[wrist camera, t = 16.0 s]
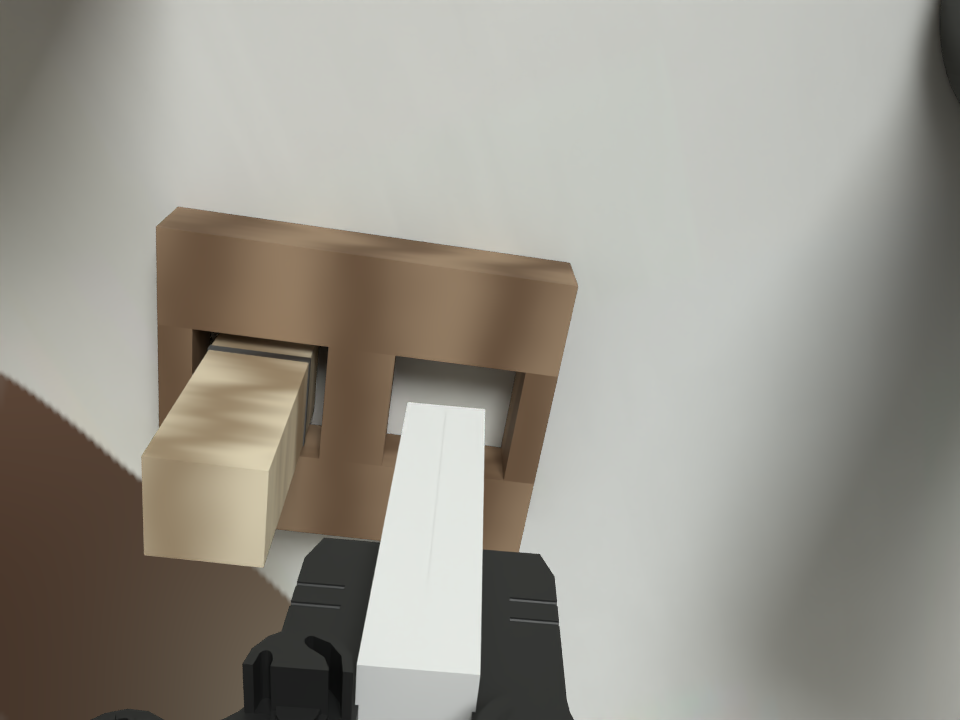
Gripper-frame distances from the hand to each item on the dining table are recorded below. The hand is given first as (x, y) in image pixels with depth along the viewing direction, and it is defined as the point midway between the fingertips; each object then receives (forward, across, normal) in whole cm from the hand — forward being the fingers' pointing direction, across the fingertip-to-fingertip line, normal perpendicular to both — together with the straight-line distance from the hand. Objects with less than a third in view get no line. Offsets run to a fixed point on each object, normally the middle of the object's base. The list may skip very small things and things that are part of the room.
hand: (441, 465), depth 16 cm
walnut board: (+23, +4, +10) cm, 25 cm away
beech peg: (+23, +9, +10) cm, 26 cm away
